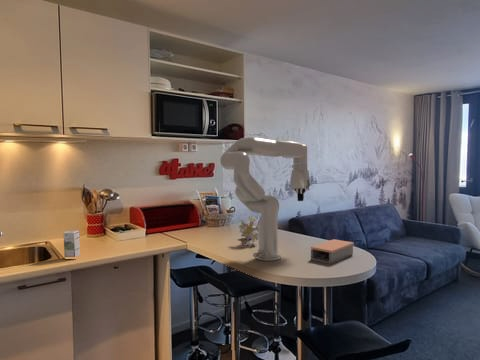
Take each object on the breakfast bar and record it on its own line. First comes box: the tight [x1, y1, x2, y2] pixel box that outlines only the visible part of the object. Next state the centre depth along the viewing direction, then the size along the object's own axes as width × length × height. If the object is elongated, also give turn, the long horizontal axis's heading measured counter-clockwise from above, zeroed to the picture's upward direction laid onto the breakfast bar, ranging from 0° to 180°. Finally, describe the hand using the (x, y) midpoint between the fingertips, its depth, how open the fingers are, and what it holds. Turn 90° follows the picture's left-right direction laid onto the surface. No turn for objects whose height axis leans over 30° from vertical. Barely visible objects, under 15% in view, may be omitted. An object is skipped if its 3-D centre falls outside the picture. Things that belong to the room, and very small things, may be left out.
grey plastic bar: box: [321, 252, 329, 259], centre depth 170 cm, size 18×2×2 cm, turn 135°
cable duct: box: [310, 245, 354, 265], centre depth 170 cm, size 22×11×5 cm, turn 135°
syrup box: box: [62, 229, 81, 258], centre depth 176 cm, size 6×6×14 cm
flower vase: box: [238, 215, 259, 248], centre depth 206 cm, size 13×18×25 cm
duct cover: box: [310, 238, 355, 253], centre depth 169 cm, size 22×12×1 cm, turn 135°
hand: (300, 200), depth 184 cm, fingers closed
